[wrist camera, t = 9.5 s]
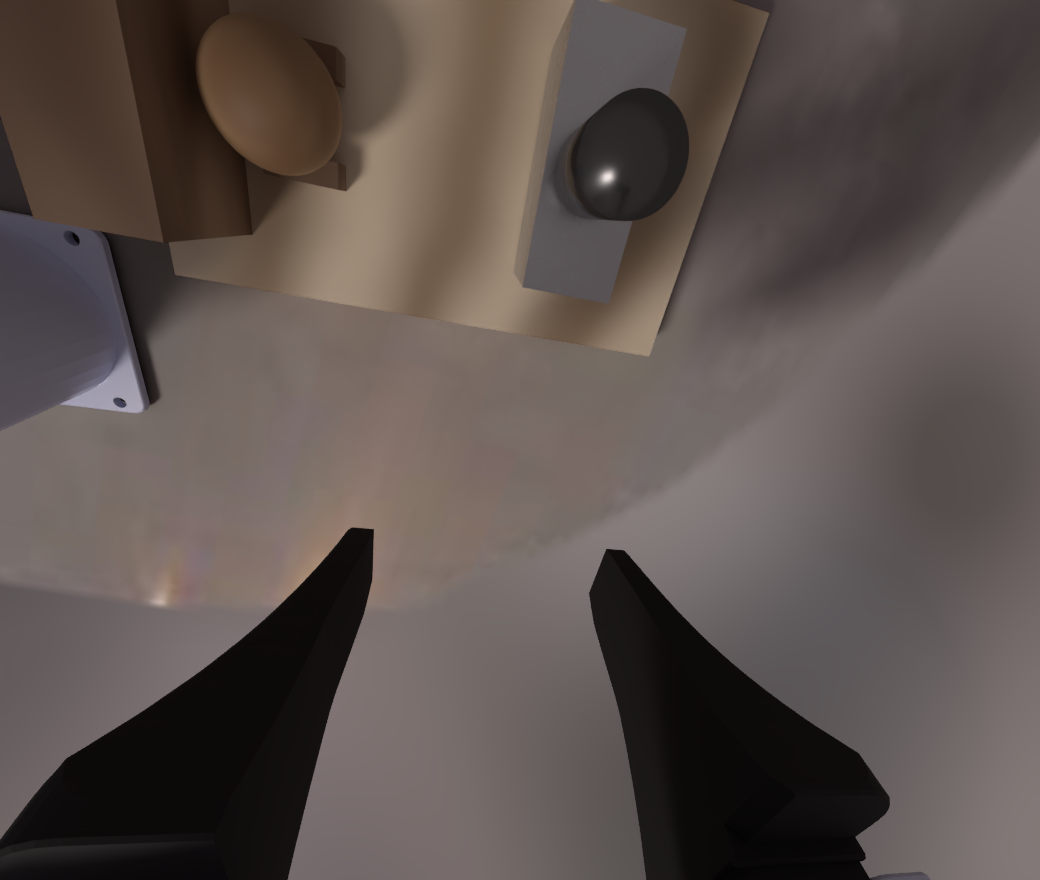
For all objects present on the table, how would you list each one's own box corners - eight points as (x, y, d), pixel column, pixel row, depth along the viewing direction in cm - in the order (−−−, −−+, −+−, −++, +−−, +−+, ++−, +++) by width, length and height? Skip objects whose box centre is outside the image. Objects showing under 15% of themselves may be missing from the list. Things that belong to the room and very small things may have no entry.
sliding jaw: (513, 272, 17) (535, 309, 10) (551, 50, 14) (619, -103, 7) (582, 285, 17) (645, 329, 11) (635, 74, 14) (771, -47, 8)
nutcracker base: (197, 270, 17) (59, 298, 11) (123, -176, 12) (-216, -547, 6) (638, 347, 20) (698, 398, 15) (743, 30, 15) (905, -82, 9)
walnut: (245, 166, 14) (177, 152, 11) (231, 26, 12) (145, -39, 9) (355, 190, 14) (321, 183, 11) (355, 59, 13) (315, 9, 10)
